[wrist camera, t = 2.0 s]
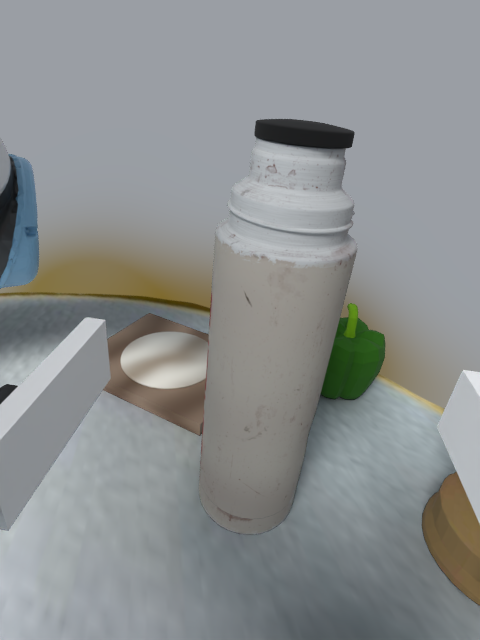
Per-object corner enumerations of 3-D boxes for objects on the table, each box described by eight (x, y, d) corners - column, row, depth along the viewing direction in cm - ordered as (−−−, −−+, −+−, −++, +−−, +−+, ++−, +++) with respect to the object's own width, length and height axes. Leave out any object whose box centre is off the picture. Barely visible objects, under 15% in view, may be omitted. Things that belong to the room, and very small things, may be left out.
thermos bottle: (178, 500, 32) (189, 110, 18) (230, 439, 38) (269, 113, 24) (265, 556, 29) (361, 134, 15) (307, 479, 35) (402, 130, 21)
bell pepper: (360, 422, 42) (386, 344, 37) (289, 391, 45) (305, 316, 40) (378, 381, 48) (403, 310, 43) (315, 357, 51) (331, 288, 46)
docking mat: (69, 374, 44) (68, 361, 43) (149, 322, 55) (149, 311, 54) (199, 435, 38) (200, 422, 37) (259, 363, 49) (261, 352, 48)
